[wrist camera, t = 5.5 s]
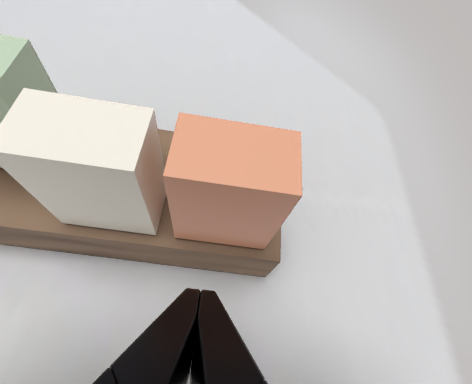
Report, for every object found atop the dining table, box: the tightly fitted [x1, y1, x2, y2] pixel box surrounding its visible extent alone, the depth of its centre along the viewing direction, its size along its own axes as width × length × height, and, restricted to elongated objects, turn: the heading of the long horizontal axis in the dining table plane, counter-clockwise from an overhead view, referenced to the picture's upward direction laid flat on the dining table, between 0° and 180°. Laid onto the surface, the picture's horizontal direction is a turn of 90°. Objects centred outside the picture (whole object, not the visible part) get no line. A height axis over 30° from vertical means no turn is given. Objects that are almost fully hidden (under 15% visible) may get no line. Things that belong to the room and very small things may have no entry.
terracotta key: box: [163, 113, 302, 249], centre depth 14 cm, size 3×5×6 cm, turn 85°
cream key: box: [0, 88, 166, 235], centre depth 13 cm, size 3×5×6 cm, turn 85°
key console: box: [0, 129, 281, 277], centre depth 19 cm, size 8×19×4 cm, turn 85°
